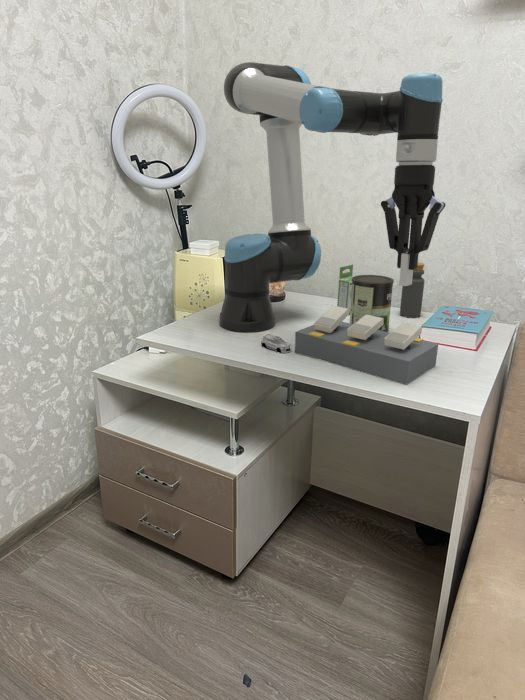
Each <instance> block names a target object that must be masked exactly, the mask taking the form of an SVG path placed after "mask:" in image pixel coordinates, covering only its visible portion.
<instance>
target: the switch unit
mask: <svg viewBox="0 0 525 700" xmlns="http://www.w3.org/2000/svg"><path fill="white" fill-rule="evenodd" d="M352 325H353V324H350V322H345V321H342V322H341V323H340V324H339V325H338V326H337V327H336V328H335V329H334V330H333V331H332V332H331V333H327V332H323V331H319V330H315V329H314V324H312V325H309V326H307V327H304V328H301V329H299V330H296V331H295V332H294V335H295V337H294V338H295V339H294V353H296V354H300V355H303V356H307V357H310V358H314V359H317V360H320V361H324V362H328V363H331V364H334V365H338V366H342V367H344V368H348V369H351V370H355V371H358V372H362V373H364V374H368V375H372V376H375V377H378V378H382V379H385V380H389V381H392V382H396V383H399V384H402V385H405V386H406V385H408V384H410V383H411V382H413V381H414V380H416V379H418V378H419V377H420V376H422V375H424V374H425V373H427V372H428V371H430V370H432V368H434V367H436V364H437V356H438V348H439V343H437V342H432V341H428V340H424V339H423V338H419V337H417V338H416V339H415V340H414V341H413V342H412V343H411V344H410V345H409V346H407V347H406V348H405V349H404V350H403V349H399V348H395V347H391V346H387V345H384V338H385V337H386V336H388V335H389V334H390V333H391V332H389V331H388V332H385V331H380V330H377V331H375V332H374V333H373V334H372V335H371V336H369V337H368V338H367V339H366V340H363V339H359V338H355V337H351V336H348V335H347V329H348V328H349V327H351V326H352Z"/></svg>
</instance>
